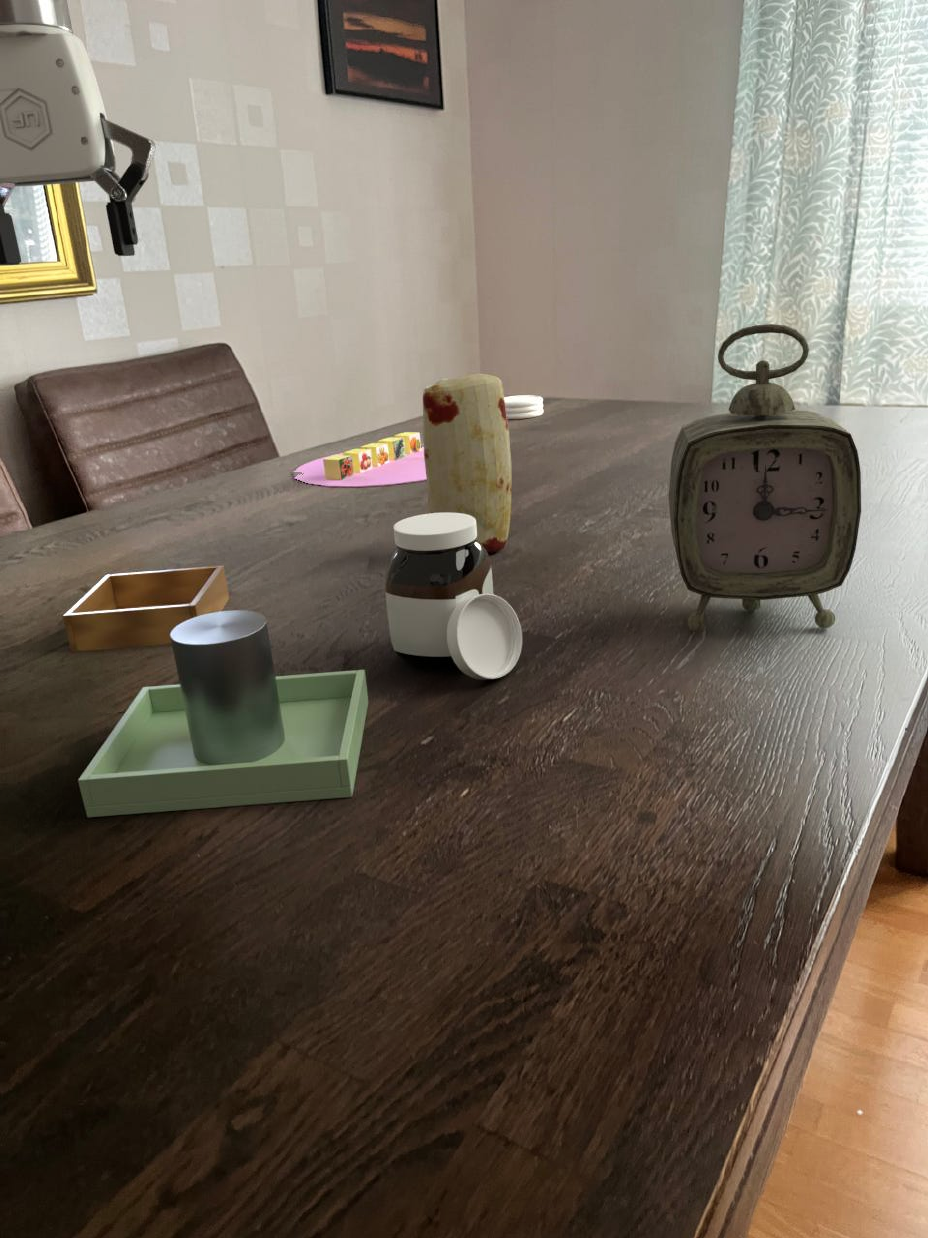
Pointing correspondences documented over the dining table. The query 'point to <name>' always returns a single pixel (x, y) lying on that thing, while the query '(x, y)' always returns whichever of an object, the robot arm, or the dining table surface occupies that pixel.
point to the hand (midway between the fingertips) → (67, 259)
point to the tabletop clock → (764, 496)
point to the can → (228, 687)
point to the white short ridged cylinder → (523, 406)
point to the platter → (370, 464)
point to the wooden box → (143, 607)
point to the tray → (175, 780)
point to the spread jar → (448, 599)
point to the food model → (469, 453)
